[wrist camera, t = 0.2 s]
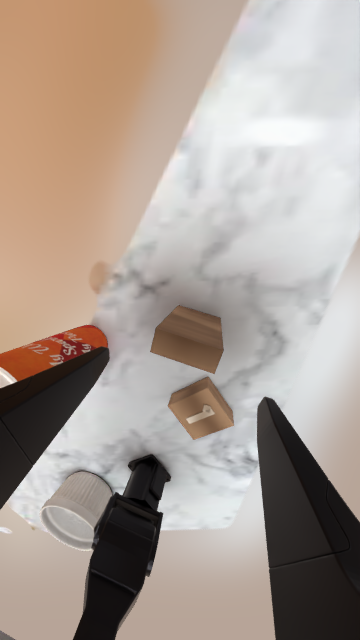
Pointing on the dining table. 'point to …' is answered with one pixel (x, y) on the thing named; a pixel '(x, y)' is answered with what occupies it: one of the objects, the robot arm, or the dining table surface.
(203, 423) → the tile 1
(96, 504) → the ramekin
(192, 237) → the dining table surface
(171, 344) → the wooden block
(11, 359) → the coffee cup
